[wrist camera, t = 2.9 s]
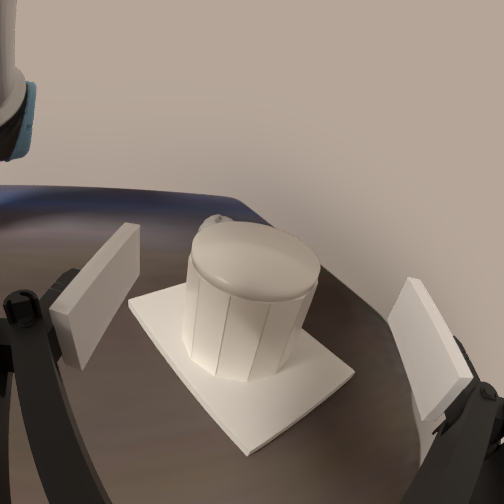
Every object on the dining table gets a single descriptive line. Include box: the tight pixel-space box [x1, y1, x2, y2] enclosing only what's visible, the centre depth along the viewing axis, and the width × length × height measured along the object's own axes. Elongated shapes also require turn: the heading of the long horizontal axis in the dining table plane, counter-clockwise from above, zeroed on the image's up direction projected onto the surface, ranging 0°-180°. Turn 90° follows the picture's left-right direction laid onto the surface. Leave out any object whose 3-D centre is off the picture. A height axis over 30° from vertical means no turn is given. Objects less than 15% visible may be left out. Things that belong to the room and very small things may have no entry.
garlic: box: [198, 214, 234, 232], centre depth 47 cm, size 6×5×5 cm
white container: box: [182, 222, 320, 382], centre depth 29 cm, size 10×10×10 cm
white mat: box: [128, 283, 355, 457], centre depth 31 cm, size 20×14×1 cm
